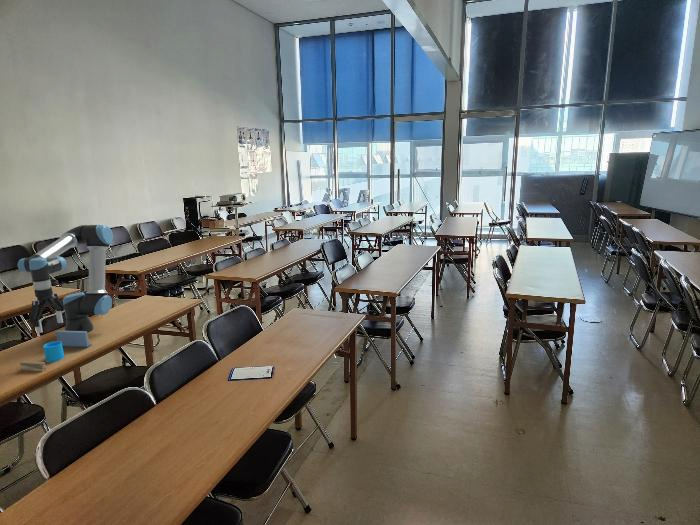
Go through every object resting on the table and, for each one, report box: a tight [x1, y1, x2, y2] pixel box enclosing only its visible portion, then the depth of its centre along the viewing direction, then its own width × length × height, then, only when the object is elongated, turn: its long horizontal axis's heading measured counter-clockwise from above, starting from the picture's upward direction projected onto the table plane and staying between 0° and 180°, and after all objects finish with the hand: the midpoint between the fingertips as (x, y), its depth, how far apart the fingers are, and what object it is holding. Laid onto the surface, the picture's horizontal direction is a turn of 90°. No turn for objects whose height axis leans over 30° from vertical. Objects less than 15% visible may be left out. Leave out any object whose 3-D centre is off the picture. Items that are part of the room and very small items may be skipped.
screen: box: [55, 330, 93, 349], centre depth 250 cm, size 4×18×9 cm, turn 82°
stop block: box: [19, 360, 47, 372], centre depth 223 cm, size 2×12×4 cm, turn 82°
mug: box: [43, 340, 65, 363], centre depth 236 cm, size 12×8×8 cm
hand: (50, 327), depth 233 cm, fingers open, 13 cm apart
